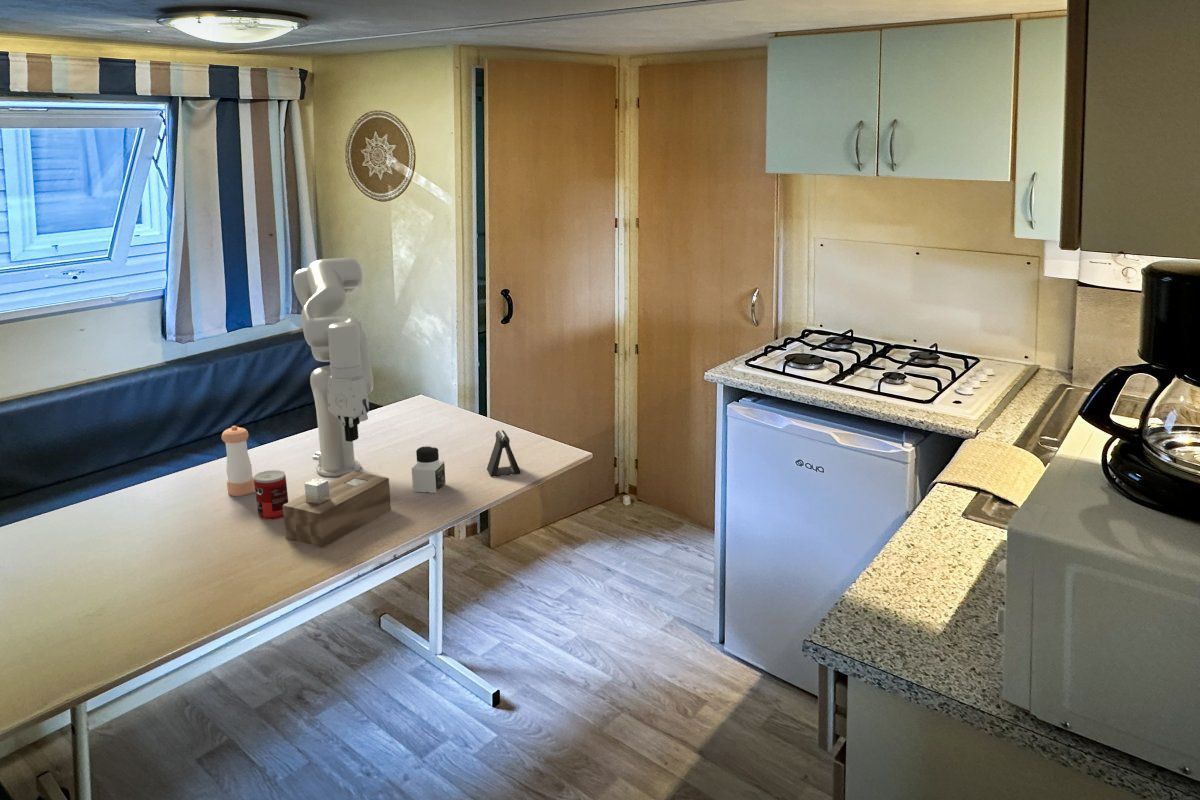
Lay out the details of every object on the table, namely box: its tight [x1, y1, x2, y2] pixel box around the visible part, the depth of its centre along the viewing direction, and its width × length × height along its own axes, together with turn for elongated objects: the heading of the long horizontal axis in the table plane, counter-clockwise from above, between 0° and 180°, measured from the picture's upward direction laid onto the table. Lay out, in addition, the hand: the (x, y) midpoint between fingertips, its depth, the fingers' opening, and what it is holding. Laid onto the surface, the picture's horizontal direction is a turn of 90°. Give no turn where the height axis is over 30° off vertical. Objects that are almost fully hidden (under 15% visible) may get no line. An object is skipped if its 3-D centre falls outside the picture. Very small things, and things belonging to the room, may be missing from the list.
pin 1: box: [304, 477, 330, 506], centre depth 239 cm, size 4×4×8 cm
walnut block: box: [282, 471, 392, 549], centre depth 246 cm, size 12×26×9 cm, turn 153°
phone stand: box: [486, 429, 522, 478], centre depth 281 cm, size 9×6×12 cm, turn 106°
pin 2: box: [345, 478, 367, 486], centre depth 252 cm, size 4×4×8 cm
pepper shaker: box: [221, 425, 255, 497], centre depth 267 cm, size 7×7×19 cm
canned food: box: [253, 469, 289, 521], centre depth 252 cm, size 8×8×11 cm
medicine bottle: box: [411, 445, 446, 494], centre depth 269 cm, size 7×7×12 cm
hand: (352, 439), depth 248 cm, fingers closed
